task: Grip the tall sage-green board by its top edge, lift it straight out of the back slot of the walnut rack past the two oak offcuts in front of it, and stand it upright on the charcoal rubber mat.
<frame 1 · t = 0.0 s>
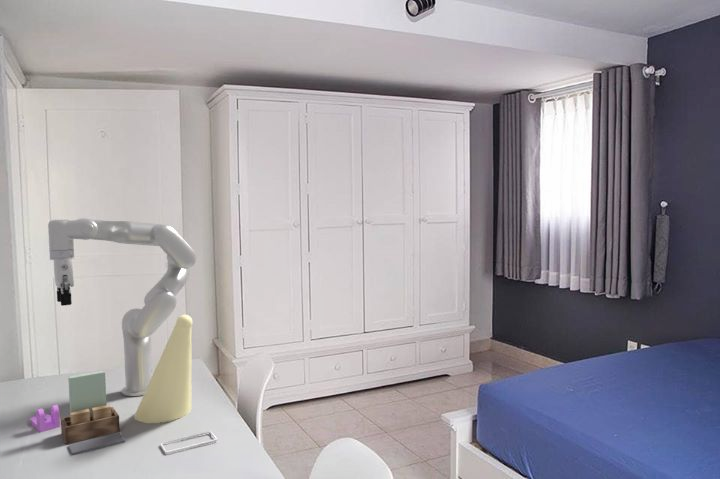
hand: (64, 303, 190), 37 cm above the table, tool pointing down, fingers open, 9 cm apart
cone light: (168, 415, 183), on the table
bracket: (44, 425, 176), on the table
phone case: (189, 446, 160), on the table
green board: (89, 430, 170), resting in walnut rack
oak offcut 2: (102, 432, 169), resting in walnut rack
oak offcut 1: (81, 437, 165), resting in walnut rack
charcoal mat: (97, 444, 160), on the table
walnut rack: (90, 432, 169), on the table
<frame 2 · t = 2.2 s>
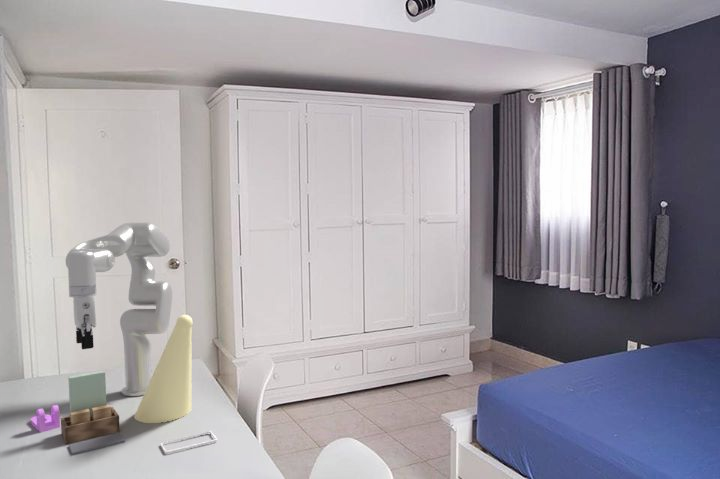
hand: (84, 345, 168), 27 cm above the table, tool pointing down, fingers open, 9 cm apart
nothing on the table moved.
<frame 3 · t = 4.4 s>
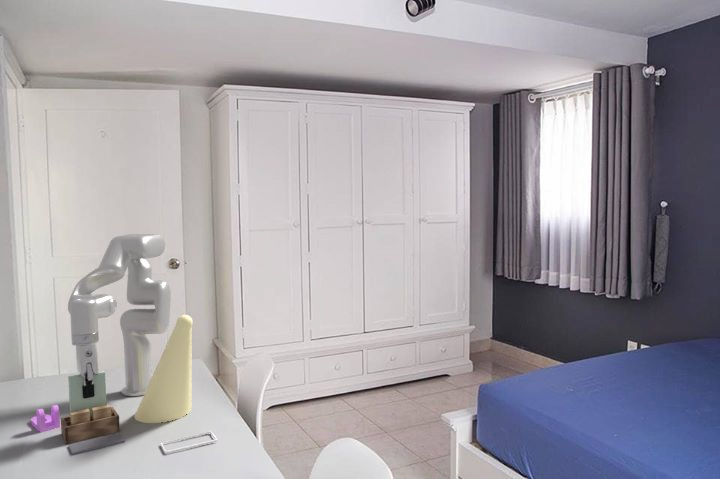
hand: (87, 395, 170), 11 cm above the table, tool pointing down, fingers closed on green board, 2 cm apart
green board: (89, 430, 170), resting in walnut rack, touching gripper
everything else where it was.
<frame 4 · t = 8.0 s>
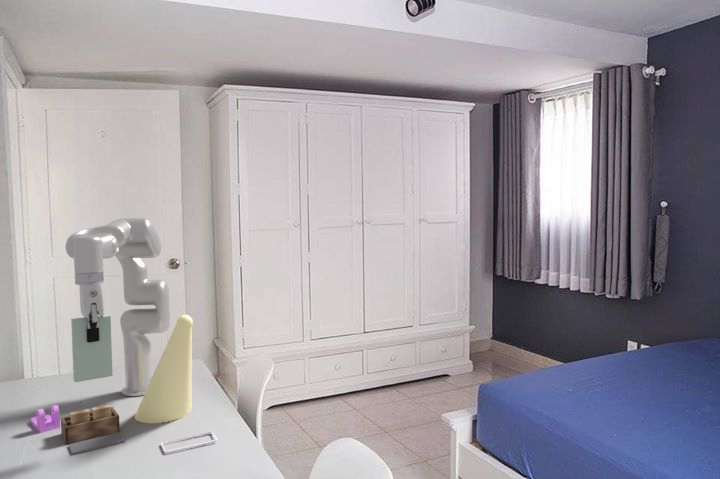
hand: (92, 340, 158), 31 cm above the table, tool pointing down, fingers closed on green board, 2 cm apart
green board: (93, 378, 159), point 20 cm above the table, touching gripper
everything else where it was.
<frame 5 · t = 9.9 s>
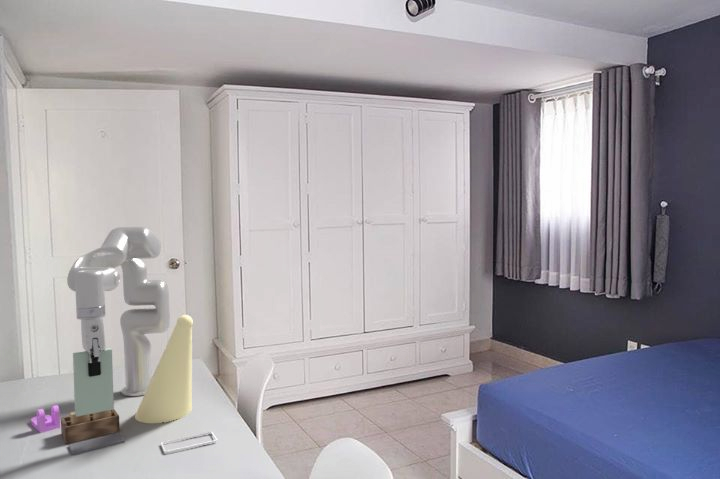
hand: (93, 373, 159), 21 cm above the table, tool pointing down, fingers closed on green board, 2 cm apart
green board: (94, 411, 159), point 10 cm above the table, touching gripper
everything else where it was.
when the fingers open (13 cm above the table, at t = 11.7 s): green board stays where it is, resting on charcoal mat.
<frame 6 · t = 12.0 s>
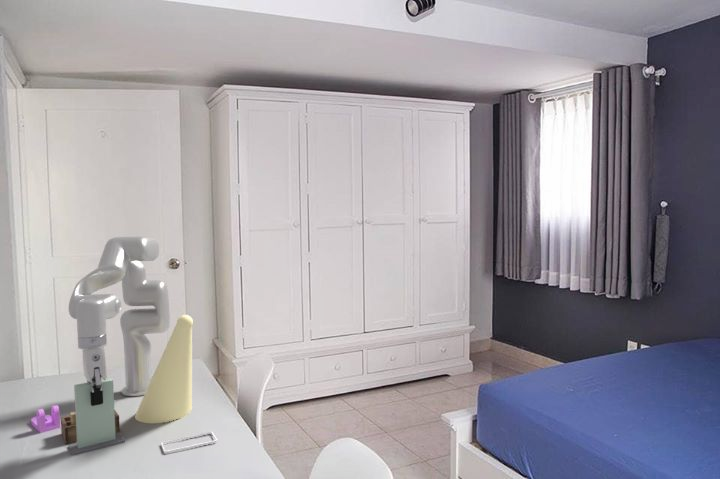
hand: (95, 401, 159), 13 cm above the table, tool pointing down, fingers open, 5 cm apart
green board: (96, 442, 160), point 1 cm above the table, touching charcoal mat
everything else where it was.
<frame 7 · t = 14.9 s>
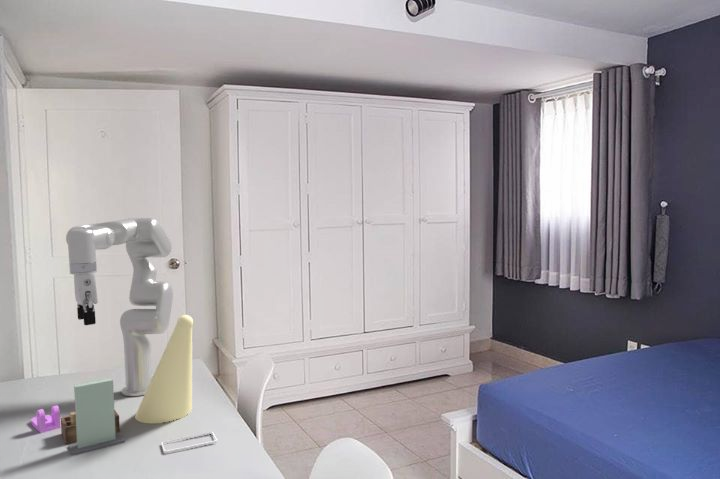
hand: (86, 321, 171), 34 cm above the table, tool pointing down, fingers open, 9 cm apart
nothing on the table moved.
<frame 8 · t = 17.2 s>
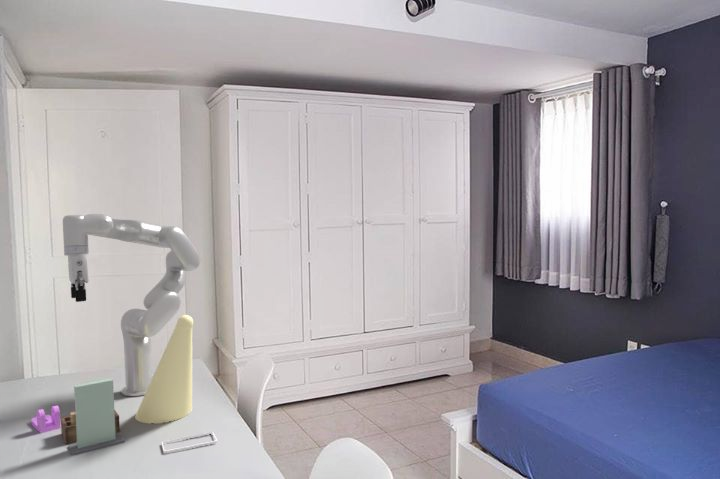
hand: (78, 299, 188), 38 cm above the table, tool pointing down, fingers open, 9 cm apart
nothing on the table moved.
at the end: green board inside the target area on the charcoal mat (0.1 cm from its centre), point 0.6 cm above the charcoal mat's base; green board tilted 0°; the gripper is holding nothing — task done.
